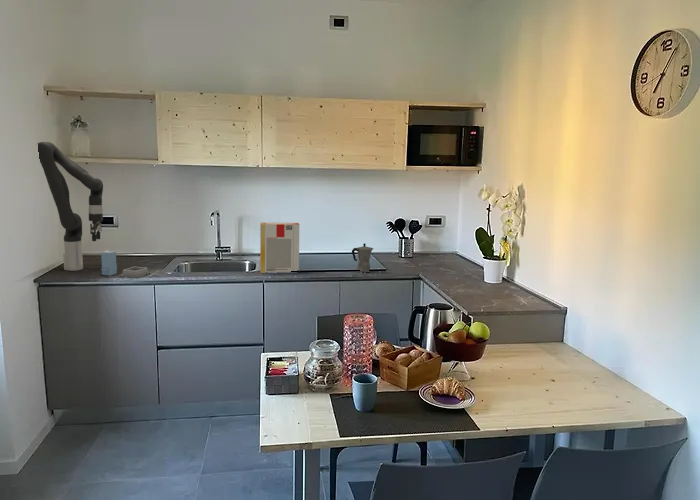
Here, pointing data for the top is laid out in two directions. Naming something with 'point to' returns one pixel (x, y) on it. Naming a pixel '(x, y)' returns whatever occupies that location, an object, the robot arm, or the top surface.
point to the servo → (109, 263)
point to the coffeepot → (363, 257)
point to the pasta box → (279, 247)
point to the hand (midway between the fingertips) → (96, 240)
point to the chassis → (135, 272)
